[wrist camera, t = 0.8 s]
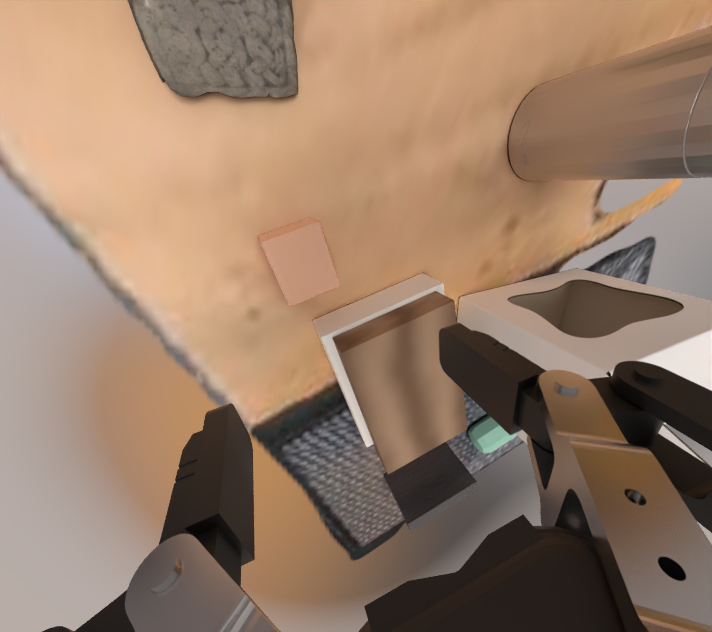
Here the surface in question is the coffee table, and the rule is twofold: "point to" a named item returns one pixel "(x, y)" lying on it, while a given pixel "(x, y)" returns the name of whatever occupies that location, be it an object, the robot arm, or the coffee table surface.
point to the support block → (300, 260)
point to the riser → (361, 314)
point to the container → (488, 435)
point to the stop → (430, 485)
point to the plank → (404, 379)
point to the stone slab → (221, 45)
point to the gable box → (597, 327)
